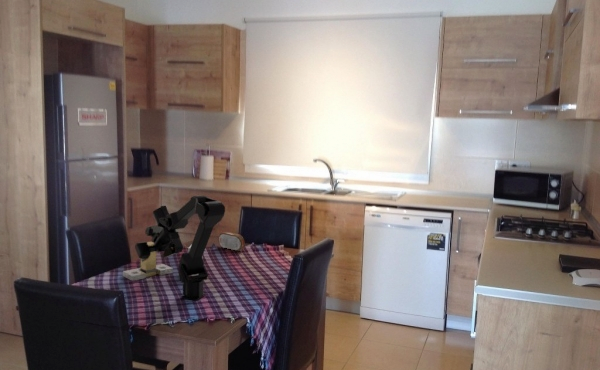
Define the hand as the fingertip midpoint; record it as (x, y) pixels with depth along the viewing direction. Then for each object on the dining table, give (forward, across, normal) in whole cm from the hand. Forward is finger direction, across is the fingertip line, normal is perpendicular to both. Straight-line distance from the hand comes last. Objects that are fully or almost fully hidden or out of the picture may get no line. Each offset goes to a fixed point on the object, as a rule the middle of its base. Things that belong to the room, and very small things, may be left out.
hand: (152, 258), depth 213 cm
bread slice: (+18, -52, -7) cm, 55 cm away
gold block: (+8, 0, +2) cm, 8 cm away
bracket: (+8, 0, +2) cm, 8 cm away
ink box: (+1, -16, +10) cm, 19 cm away
